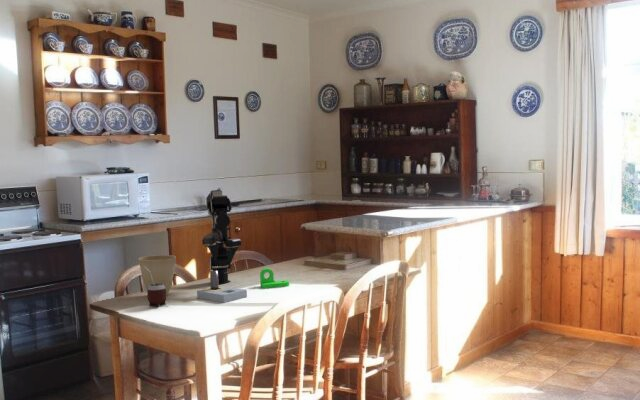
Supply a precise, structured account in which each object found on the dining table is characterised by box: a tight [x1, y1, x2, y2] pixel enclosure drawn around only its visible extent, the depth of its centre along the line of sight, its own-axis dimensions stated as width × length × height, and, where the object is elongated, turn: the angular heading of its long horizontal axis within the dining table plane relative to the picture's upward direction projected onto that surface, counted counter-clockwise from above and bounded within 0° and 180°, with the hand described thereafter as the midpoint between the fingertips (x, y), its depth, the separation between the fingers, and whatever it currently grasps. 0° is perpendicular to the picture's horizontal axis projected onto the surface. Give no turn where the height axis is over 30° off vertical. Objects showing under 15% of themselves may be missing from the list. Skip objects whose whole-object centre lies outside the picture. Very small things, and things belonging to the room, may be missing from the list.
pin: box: [209, 269, 220, 290], centre depth 265 cm, size 3×3×10 cm
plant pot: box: [138, 254, 177, 297], centre depth 270 cm, size 15×15×16 cm
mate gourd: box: [144, 266, 167, 308], centre depth 252 cm, size 8×8×15 cm
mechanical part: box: [259, 267, 290, 290], centre depth 283 cm, size 12×6×8 cm, turn 106°
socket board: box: [196, 285, 248, 304], centre depth 262 cm, size 16×12×3 cm
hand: (222, 261), depth 279 cm, fingers open, 9 cm apart
